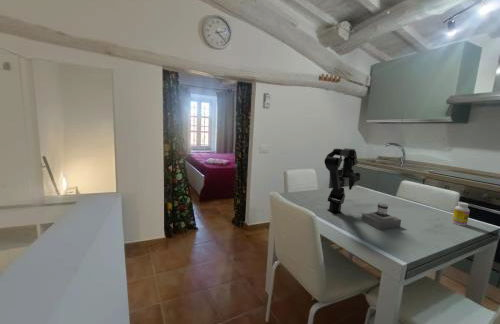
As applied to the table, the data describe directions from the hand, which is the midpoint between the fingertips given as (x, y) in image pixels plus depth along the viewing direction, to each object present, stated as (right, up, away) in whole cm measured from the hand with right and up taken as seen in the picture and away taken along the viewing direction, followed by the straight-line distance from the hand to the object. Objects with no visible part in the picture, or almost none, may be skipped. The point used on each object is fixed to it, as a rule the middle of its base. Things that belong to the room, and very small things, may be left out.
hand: (344, 190), depth 155 cm
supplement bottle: (+62, -18, -17) cm, 67 cm away
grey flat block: (+11, -16, -23) cm, 31 cm away
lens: (+11, -12, -24) cm, 29 cm away
